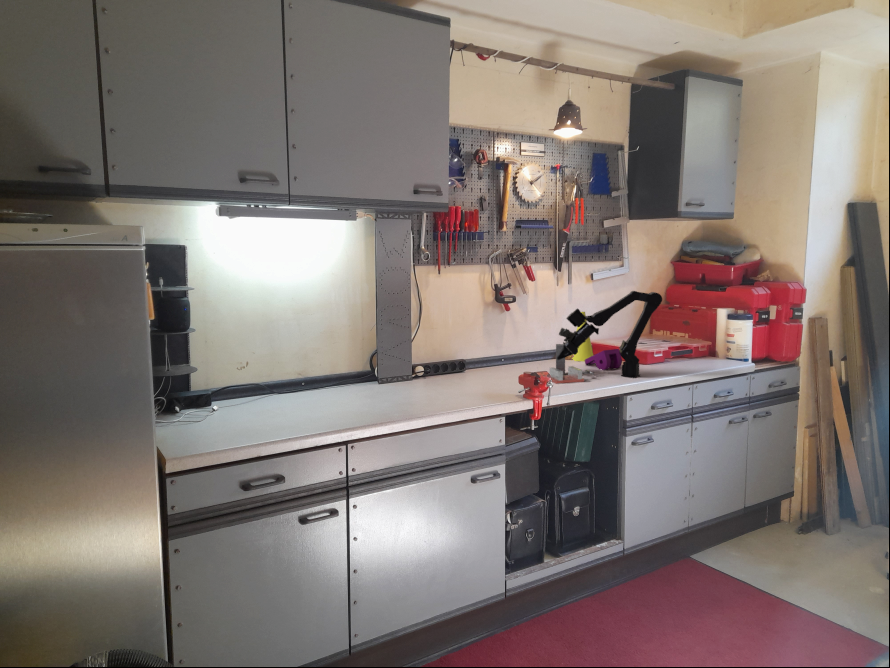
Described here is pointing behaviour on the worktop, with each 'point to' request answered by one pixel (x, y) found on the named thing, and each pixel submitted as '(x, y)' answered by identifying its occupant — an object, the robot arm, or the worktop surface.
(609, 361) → the mounting bracket
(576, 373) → the bench vise
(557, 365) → the steel bar
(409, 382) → the worktop surface
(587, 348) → the cone
